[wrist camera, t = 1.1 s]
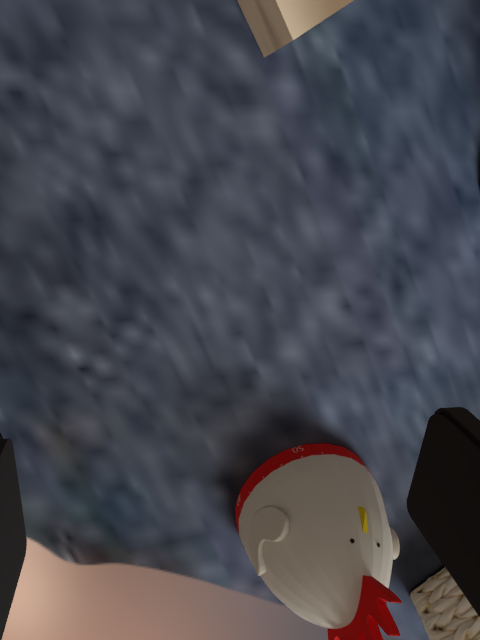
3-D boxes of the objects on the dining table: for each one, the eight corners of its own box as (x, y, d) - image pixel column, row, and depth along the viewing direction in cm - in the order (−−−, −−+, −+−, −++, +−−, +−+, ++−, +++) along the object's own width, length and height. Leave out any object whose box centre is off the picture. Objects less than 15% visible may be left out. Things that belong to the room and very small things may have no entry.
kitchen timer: (393, 458, 44) (505, 602, 31) (332, 560, 48) (407, 727, 35) (270, 429, 40) (337, 581, 26) (213, 543, 44) (246, 728, 30)
